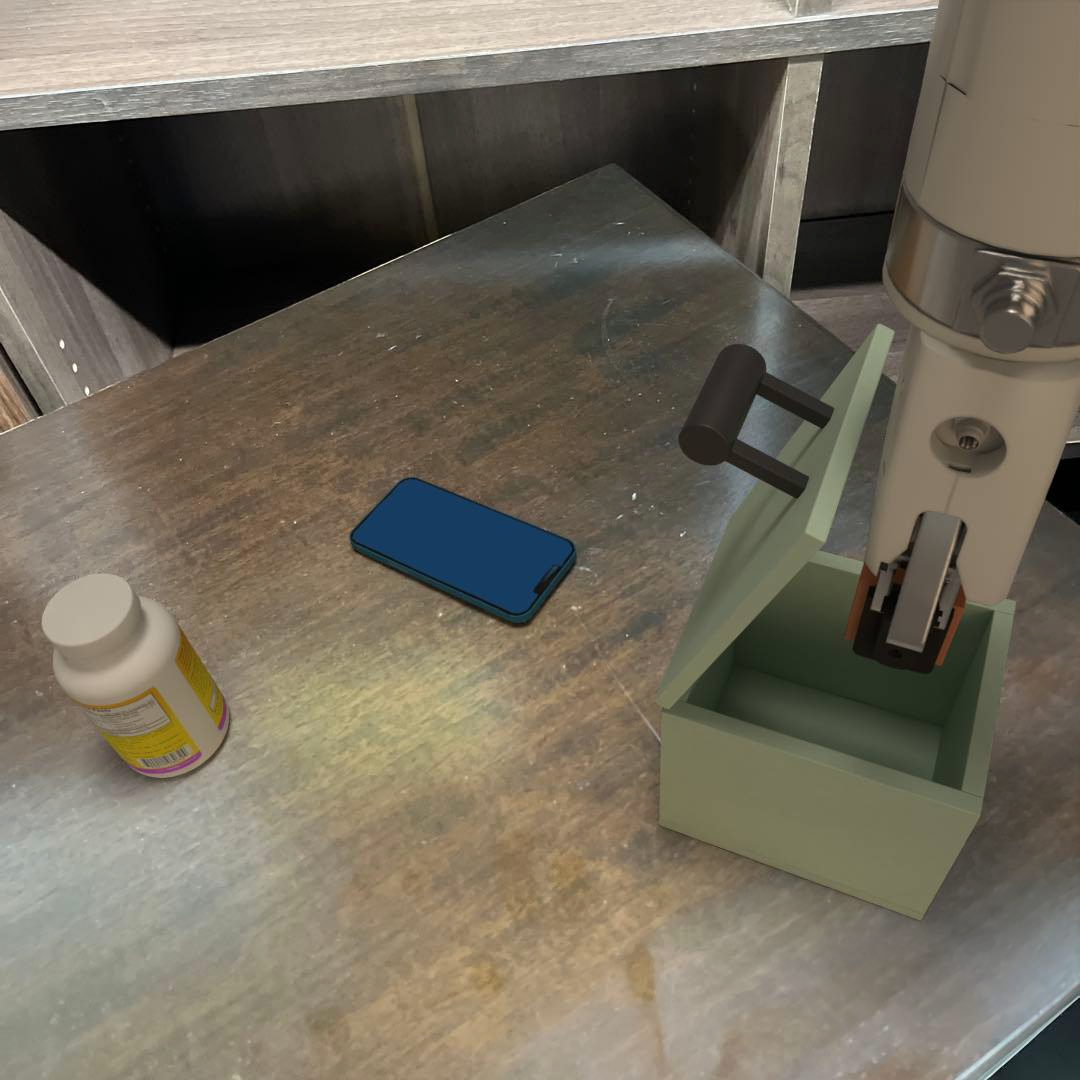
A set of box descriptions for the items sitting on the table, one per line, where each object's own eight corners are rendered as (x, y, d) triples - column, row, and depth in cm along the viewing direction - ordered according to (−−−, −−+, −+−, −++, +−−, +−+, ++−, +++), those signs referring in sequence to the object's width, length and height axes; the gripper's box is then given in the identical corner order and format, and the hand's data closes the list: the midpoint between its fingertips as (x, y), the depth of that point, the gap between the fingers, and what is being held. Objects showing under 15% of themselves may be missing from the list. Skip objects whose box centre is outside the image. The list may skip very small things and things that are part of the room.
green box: (958, 727, 56) (1016, 600, 47) (920, 921, 49) (980, 816, 41) (722, 656, 61) (735, 528, 52) (658, 825, 54) (660, 711, 45)
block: (956, 594, 43) (980, 534, 40) (941, 666, 41) (964, 609, 38) (863, 570, 44) (879, 510, 41) (843, 639, 42) (858, 580, 39)
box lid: (896, 330, 39) (767, 263, 40) (826, 543, 33) (670, 460, 33) (742, 526, 51) (644, 473, 52) (668, 710, 45) (555, 649, 45)
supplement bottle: (179, 670, 63) (94, 540, 54) (254, 714, 61) (179, 585, 51) (100, 752, 60) (-6, 628, 50) (176, 802, 57) (80, 681, 48)
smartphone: (406, 472, 72) (582, 543, 66) (409, 481, 73) (583, 553, 67) (342, 539, 69) (522, 622, 62) (345, 548, 69) (523, 631, 63)
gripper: (1156, 464, 23) (963, 816, 37) (1179, 121, 32) (1019, 502, 46) (827, 396, 25) (763, 750, 39) (940, 95, 35) (856, 465, 49)
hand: (903, 613), depth 42 cm, fingers closed on block, 4 cm apart
